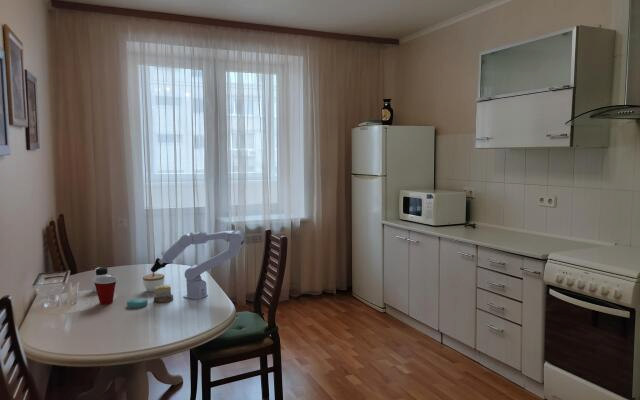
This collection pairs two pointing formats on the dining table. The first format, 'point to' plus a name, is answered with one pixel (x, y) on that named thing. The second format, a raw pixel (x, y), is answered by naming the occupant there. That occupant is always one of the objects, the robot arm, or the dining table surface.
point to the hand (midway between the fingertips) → (155, 269)
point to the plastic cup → (105, 289)
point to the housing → (163, 291)
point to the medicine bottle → (100, 275)
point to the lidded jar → (153, 281)
